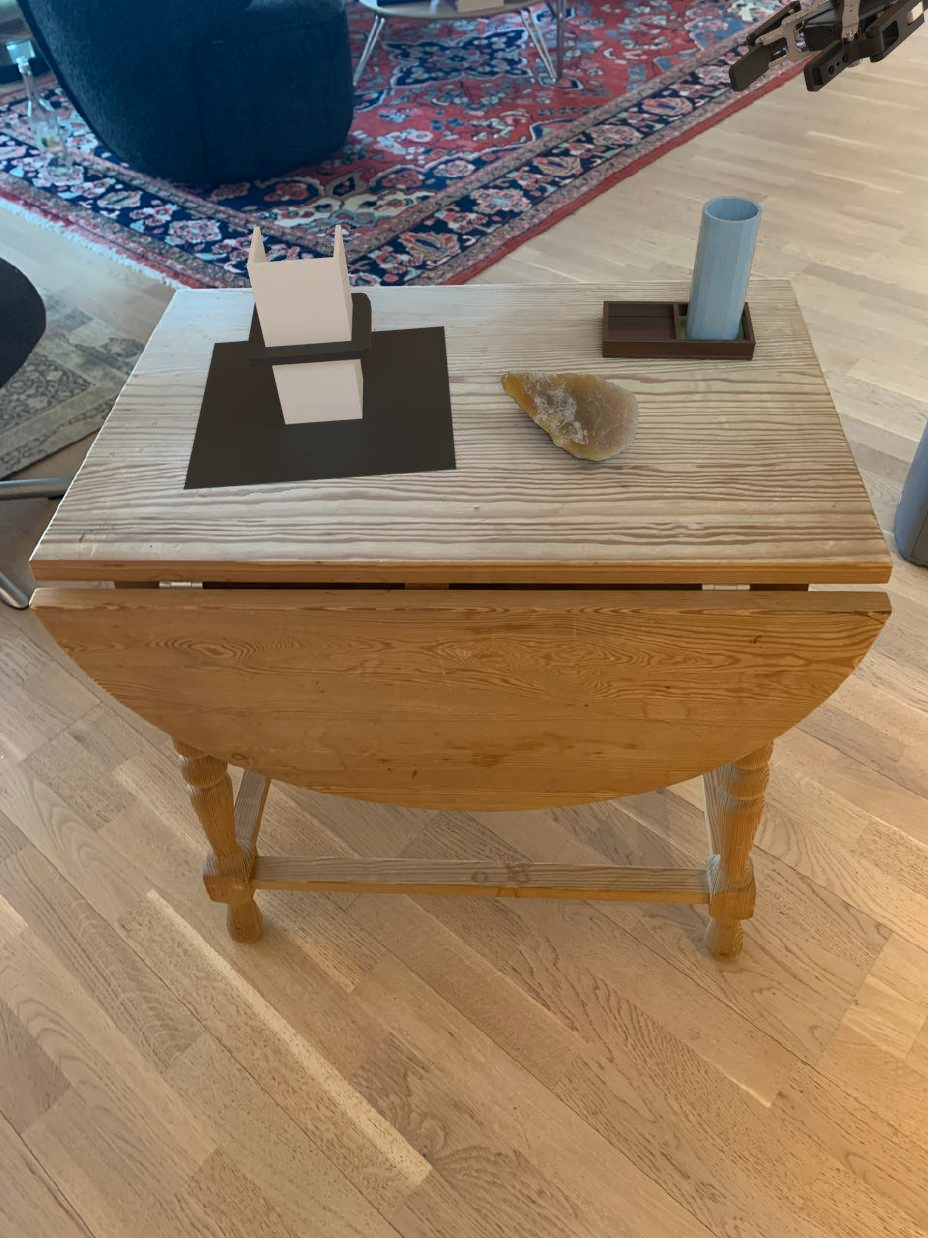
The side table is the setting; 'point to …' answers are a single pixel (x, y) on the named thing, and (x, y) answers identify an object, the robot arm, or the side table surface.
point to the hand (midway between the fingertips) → (769, 80)
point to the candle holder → (320, 386)
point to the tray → (666, 333)
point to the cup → (722, 267)
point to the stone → (577, 411)
